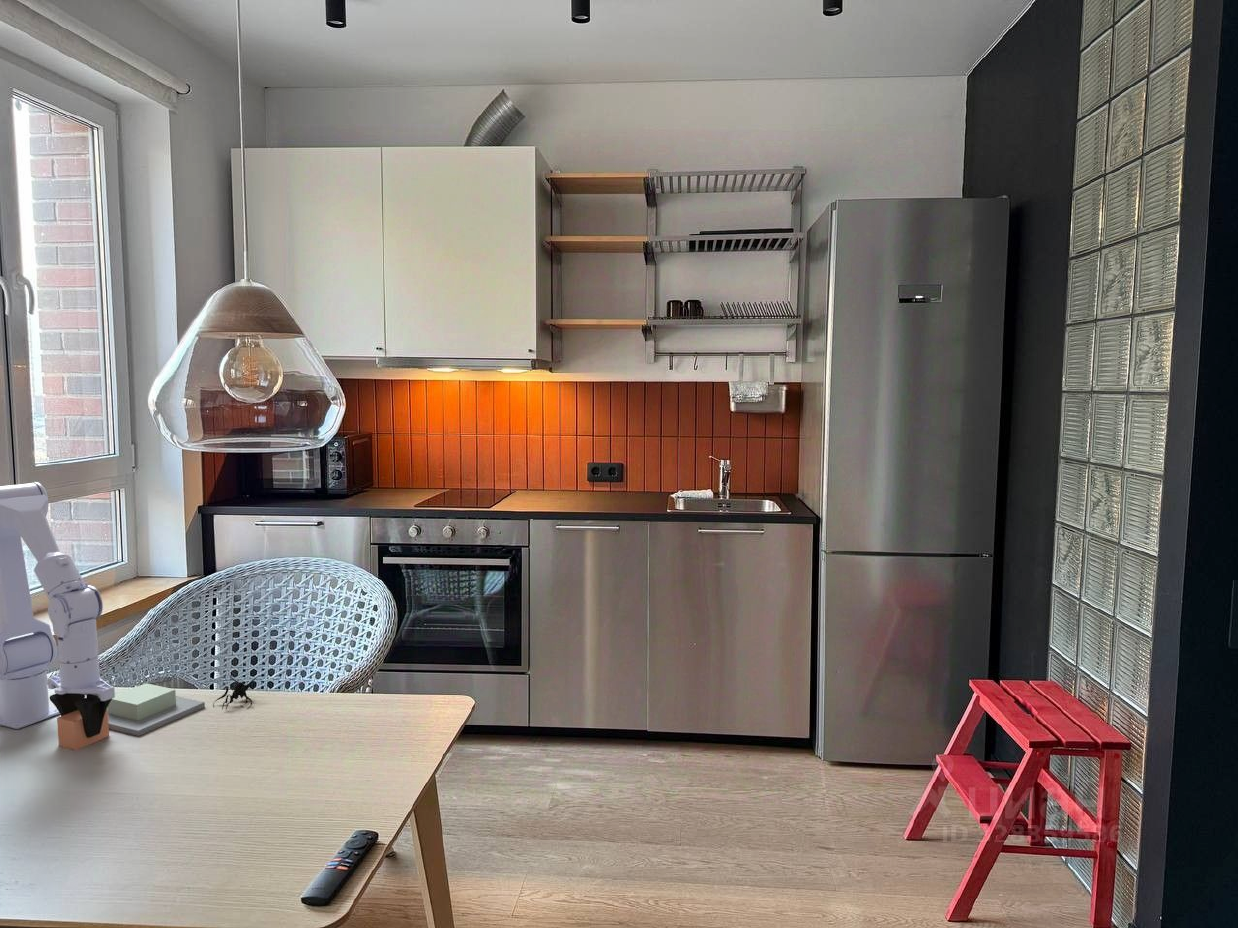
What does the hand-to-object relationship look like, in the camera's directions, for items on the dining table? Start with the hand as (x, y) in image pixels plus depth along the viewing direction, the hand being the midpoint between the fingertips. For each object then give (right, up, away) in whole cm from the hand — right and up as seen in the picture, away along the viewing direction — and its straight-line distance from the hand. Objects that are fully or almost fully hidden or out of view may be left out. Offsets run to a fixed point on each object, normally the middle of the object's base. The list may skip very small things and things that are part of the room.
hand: (83, 732), depth 144 cm
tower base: (+4, 0, +12) cm, 12 cm away
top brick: (0, -1, 0) cm, 1 cm away
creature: (+19, 0, +16) cm, 25 cm away
